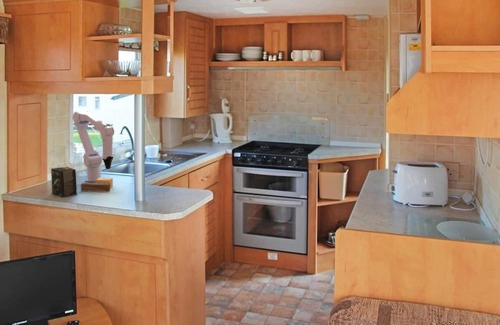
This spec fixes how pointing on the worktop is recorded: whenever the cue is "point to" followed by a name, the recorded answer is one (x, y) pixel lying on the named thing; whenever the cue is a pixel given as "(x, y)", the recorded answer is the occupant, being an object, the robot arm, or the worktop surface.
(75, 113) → the robot arm
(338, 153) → the worktop surface
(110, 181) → the block
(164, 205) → the worktop surface
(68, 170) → the tampon box
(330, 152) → the worktop surface
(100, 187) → the brown wooden bar
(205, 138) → the worktop surface
